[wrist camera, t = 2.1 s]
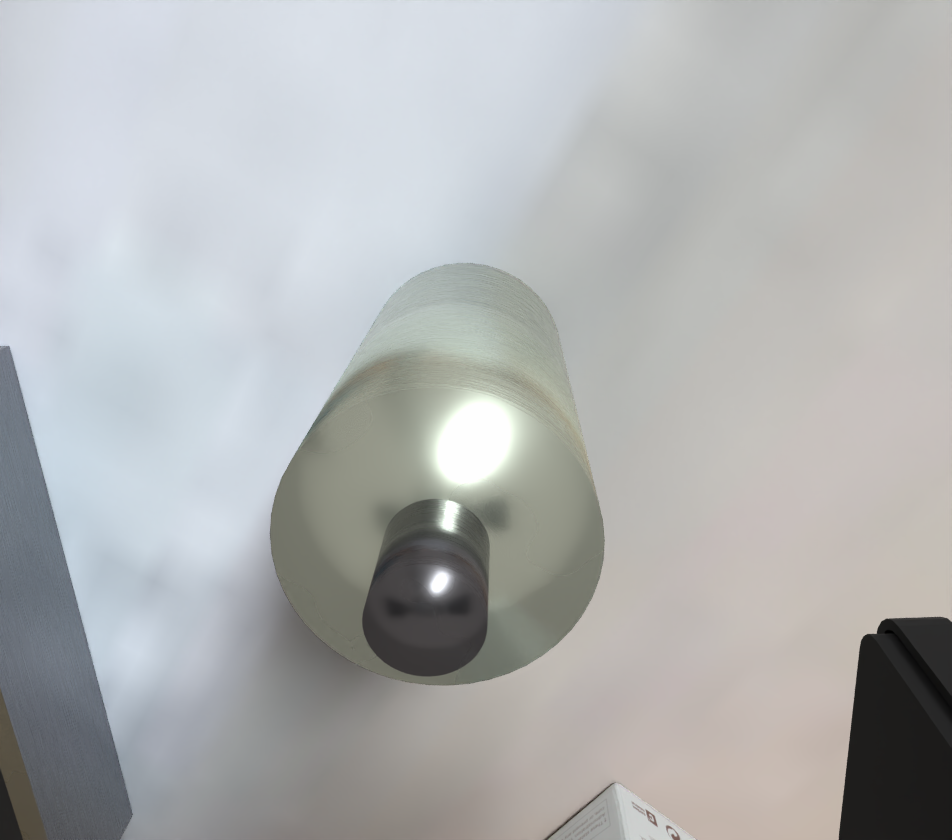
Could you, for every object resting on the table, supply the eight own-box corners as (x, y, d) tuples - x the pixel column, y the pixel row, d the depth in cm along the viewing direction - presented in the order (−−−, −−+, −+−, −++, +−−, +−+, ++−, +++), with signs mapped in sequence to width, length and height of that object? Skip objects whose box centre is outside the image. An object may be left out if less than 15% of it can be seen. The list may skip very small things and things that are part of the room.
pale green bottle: (359, 268, 21) (196, 452, 10) (558, 257, 21) (622, 432, 10) (379, 451, 23) (260, 783, 12) (563, 443, 23) (622, 774, 11)
